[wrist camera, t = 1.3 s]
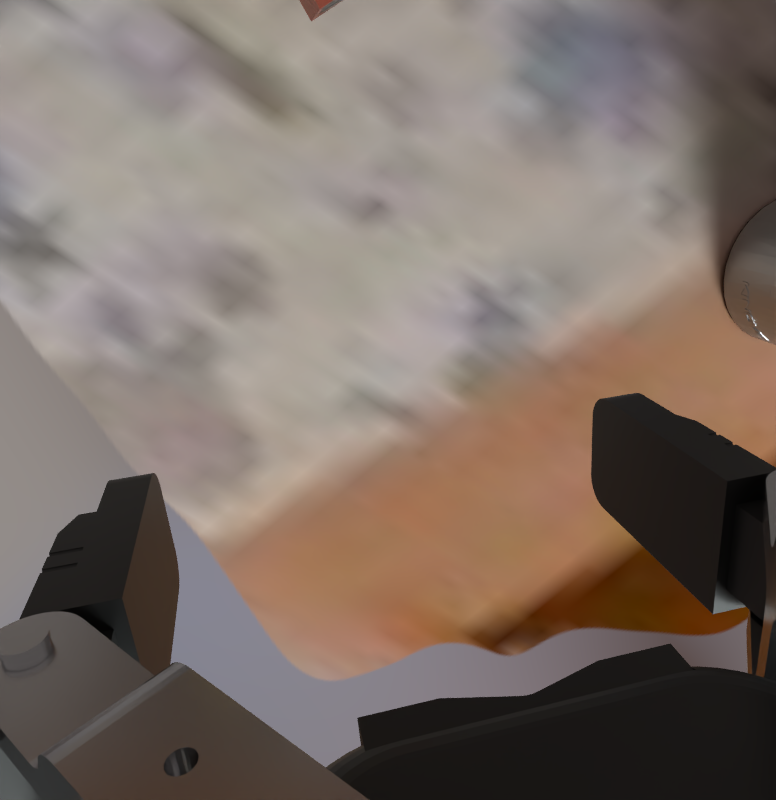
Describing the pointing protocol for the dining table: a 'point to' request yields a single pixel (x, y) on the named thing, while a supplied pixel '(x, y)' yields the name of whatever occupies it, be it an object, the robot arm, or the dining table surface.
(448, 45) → the dining table surface
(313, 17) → the lever
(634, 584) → the dining table surface
